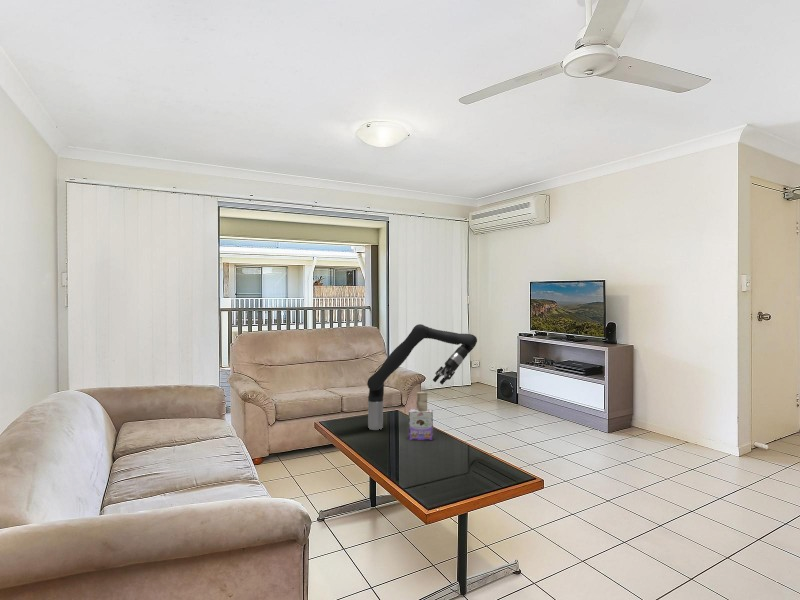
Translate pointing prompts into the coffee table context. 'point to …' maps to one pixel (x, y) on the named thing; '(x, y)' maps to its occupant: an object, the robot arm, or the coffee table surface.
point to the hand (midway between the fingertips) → (437, 382)
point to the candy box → (420, 425)
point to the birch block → (421, 401)
